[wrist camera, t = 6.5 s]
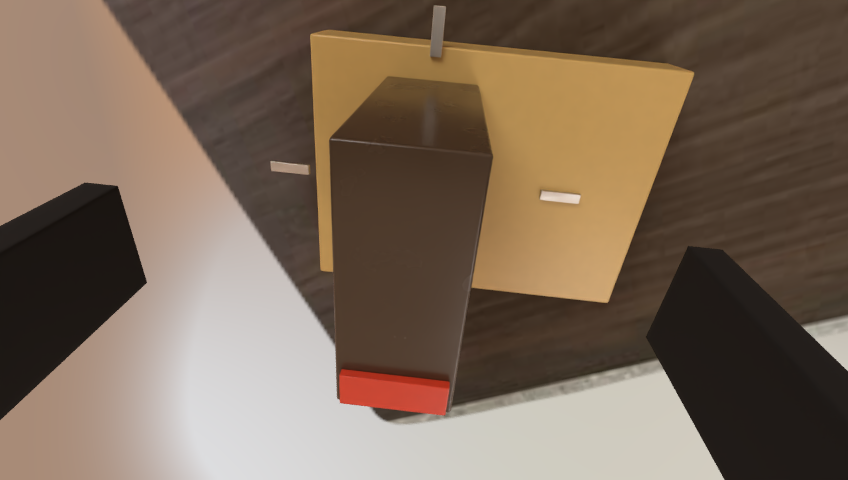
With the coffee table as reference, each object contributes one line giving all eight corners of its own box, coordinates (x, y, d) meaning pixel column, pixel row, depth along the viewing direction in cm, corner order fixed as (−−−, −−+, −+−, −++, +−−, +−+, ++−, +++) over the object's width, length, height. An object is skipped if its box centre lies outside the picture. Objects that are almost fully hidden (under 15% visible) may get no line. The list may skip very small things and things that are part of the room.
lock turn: (386, 75, 14) (324, 141, 7) (479, 84, 14) (495, 159, 7) (380, 258, 17) (333, 408, 11) (454, 266, 17) (450, 421, 11)
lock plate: (299, 263, 20) (283, 290, 18) (279, -12, 15) (252, -13, 13) (588, 295, 20) (601, 326, 18) (680, 28, 14) (714, 32, 12)
